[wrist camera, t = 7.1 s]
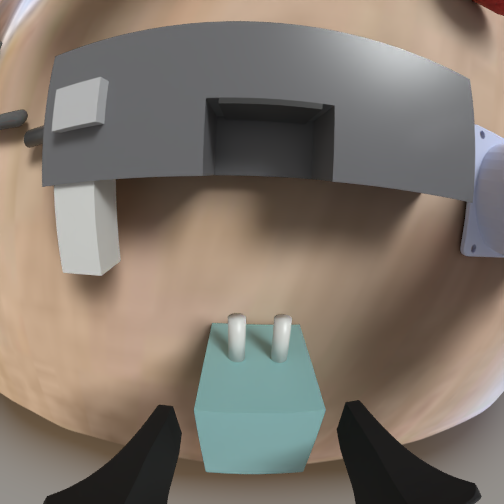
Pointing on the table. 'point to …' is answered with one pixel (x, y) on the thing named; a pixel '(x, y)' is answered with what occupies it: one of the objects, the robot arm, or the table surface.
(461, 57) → the table surface
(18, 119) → the walkie-talkie
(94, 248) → the block
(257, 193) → the table surface
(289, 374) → the charger
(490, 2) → the onion
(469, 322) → the table surface
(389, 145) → the power strip
